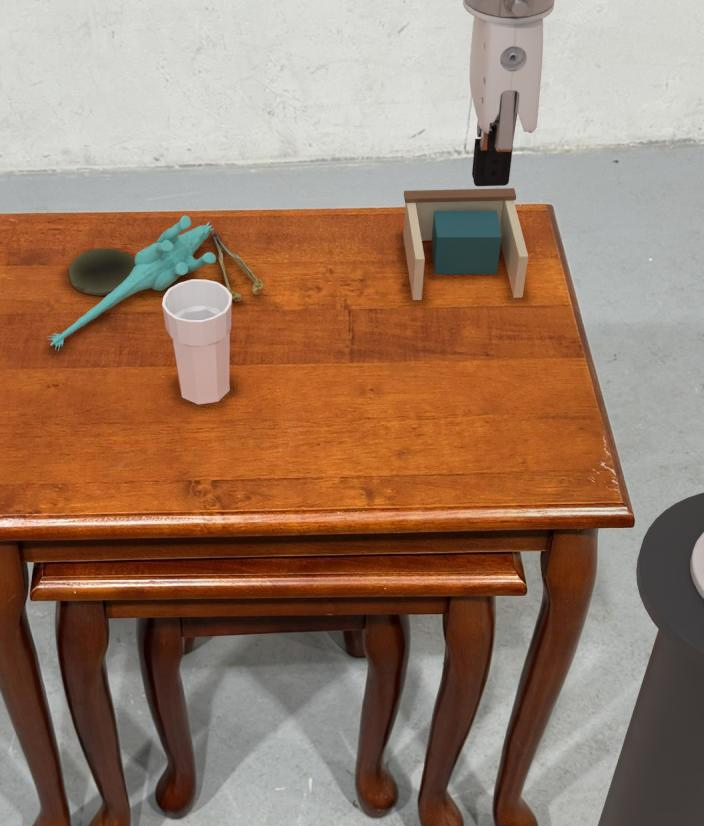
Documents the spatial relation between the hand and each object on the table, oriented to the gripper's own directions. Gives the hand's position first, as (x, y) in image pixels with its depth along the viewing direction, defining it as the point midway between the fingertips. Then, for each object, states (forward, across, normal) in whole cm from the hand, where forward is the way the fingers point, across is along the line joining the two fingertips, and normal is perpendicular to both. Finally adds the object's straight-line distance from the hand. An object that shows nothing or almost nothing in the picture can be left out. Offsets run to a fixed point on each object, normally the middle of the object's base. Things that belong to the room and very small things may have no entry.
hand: (489, 180), depth 119 cm
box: (+20, +16, -1) cm, 26 cm away
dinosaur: (+15, +8, +32) cm, 36 cm away
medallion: (+19, +15, +39) cm, 46 cm away
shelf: (+20, +15, -1) cm, 25 cm away
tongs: (+21, +16, +26) cm, 36 cm away
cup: (+21, -4, +28) cm, 35 cm away
